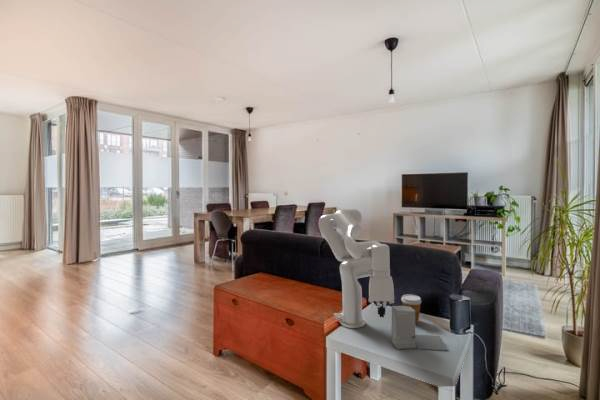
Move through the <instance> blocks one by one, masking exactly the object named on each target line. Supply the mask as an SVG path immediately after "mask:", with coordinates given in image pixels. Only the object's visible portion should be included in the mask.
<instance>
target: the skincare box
mask: <svg viewBox="0 0 600 400" xmlns="http://www.w3.org/2000/svg"><path fill="white" fill-rule="evenodd" d="M415 335H416V324H415V310H414V309H412V308H411V307H410V306H403V305H392V306H391V342H392V344H393V346H394V347H395V349H397V350H405V349H416V345H415Z"/></svg>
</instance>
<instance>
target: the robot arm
mask: <svg viewBox="0 0 600 400" xmlns="http://www.w3.org/2000/svg"><path fill="white" fill-rule="evenodd" d="M362 217H363V216H362V214H361V212H360V211H359V210H358V209H356V208H349V209H347V208H346V209H339V210H337V211H336V212H334V213H327V214H324V215H321V216H320V217H319V219H318V229H319V231H320V234H321V236H322V237H323V238H324V239H325V241H326V242H327V244H328V245H329V247H330V249H331V251H332V253H333V255H334V257H335V259H336V260H337V261H338V262H341V263H340V265H339V273H340V278H341V279H340V280H341V292H342V293H341V295H342V299H341V300H342V301H341V303H342V311H341V312H340V313H338V312H337V313H336V312H334V313H333V318H335V319H336V320H339V323H340V325H341V326H343V327H345V328H348V329H360V328H363V327H364V326H366V319H365V318H364V317H363V292H362V291H363V289H362V285H361V283H360V281H358V279H361V278H366V277H367V278H368V277H369V281H368V303H372V304H374V305H375V306H376V307H377V315H379V318H385V316H386V308H387V306H389V305H390V304H394V303H395V290H394V289H395V287H394V281H393V277H392V275H391V269H390V267H391V265H390V264H391V263H390V261H391V260H390V257H391V256H390V246H389V245H388V244H386V243H381V242H379V241H378V240H370V241H368V240H367V241H356V240H355V238H357V237H358V236H359V235H360V234H361V232H362V226H361V223H362V221H363V219H362ZM338 229H339V230H341V231H342V233H343V234H344V237H343V235H342V234H341V233H340V232H339V231H337V230H338ZM380 302H382V304H381V303H380Z"/></svg>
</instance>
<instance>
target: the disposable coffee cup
mask: <svg viewBox="0 0 600 400" xmlns="http://www.w3.org/2000/svg"><path fill="white" fill-rule="evenodd" d="M400 300H401V303H402V306H410V307H411V308H412V309H414V310H415V325H416V324H418V323H419V319H420V311H421V303H422V301H423V300H422V299H421V297H420V296H419V295H417V294H410V293H409V294H403V295H401V298H400Z"/></svg>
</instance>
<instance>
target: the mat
mask: <svg viewBox="0 0 600 400" xmlns="http://www.w3.org/2000/svg"><path fill="white" fill-rule="evenodd" d="M415 348H416V349H417V350H422V351H438V352H442V351H443V352H449V348H448V347H447V345H446V343H445V342H444V340H443V339H442V337H441V336H440V335H428V334H415Z"/></svg>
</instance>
